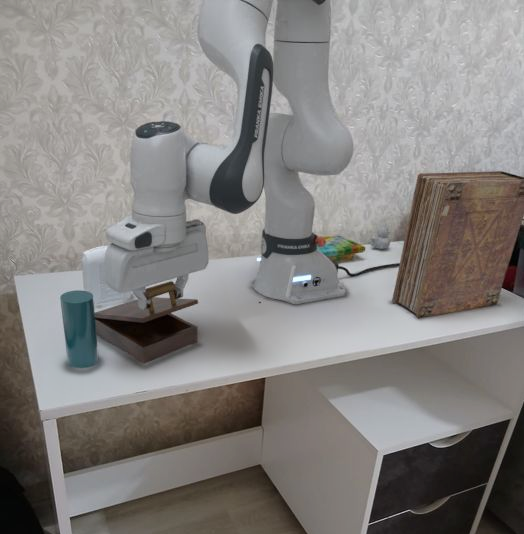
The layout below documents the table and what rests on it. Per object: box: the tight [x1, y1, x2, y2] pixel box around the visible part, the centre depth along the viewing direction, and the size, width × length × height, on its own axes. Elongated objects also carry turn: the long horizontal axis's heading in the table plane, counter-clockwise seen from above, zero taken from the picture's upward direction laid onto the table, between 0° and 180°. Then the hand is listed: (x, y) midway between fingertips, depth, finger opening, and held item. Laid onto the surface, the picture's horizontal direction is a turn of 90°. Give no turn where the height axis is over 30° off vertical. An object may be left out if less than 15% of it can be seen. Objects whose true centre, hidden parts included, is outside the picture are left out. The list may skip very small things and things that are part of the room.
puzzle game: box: [317, 234, 366, 263], centre depth 156 cm, size 12×5×20 cm
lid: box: [95, 280, 199, 323], centre depth 103 cm, size 16×13×5 cm
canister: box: [59, 289, 99, 369], centre depth 94 cm, size 5×5×13 cm
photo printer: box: [81, 245, 132, 305], centre depth 118 cm, size 10×4×12 cm, turn 123°
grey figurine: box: [370, 223, 391, 250], centre depth 166 cm, size 5×7×8 cm
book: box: [391, 170, 524, 319], centre depth 126 cm, size 25×9×30 cm, turn 116°
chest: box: [95, 313, 198, 364], centre depth 106 cm, size 16×13×4 cm
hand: (160, 302), depth 99 cm, fingers closed on lid, 6 cm apart
